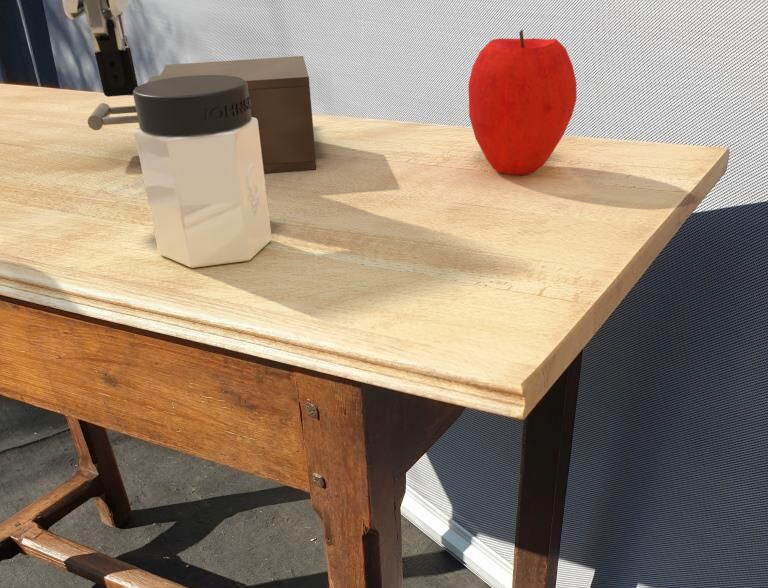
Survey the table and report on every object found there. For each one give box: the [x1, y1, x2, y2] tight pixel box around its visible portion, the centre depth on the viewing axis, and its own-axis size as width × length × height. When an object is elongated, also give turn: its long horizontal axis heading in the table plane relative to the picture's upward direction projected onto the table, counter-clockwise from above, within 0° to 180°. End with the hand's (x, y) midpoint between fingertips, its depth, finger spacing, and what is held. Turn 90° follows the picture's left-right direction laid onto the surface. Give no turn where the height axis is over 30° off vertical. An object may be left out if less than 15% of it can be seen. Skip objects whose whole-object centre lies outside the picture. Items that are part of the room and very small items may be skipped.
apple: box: [467, 29, 578, 176], centre depth 77 cm, size 10×10×12 cm
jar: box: [132, 75, 273, 269], centre depth 63 cm, size 9×8×12 cm
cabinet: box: [158, 55, 317, 174], centre depth 86 cm, size 15×13×9 cm
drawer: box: [87, 75, 160, 131], centre depth 86 cm, size 19×11×7 cm, turn 97°
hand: (121, 93), depth 84 cm, fingers closed
